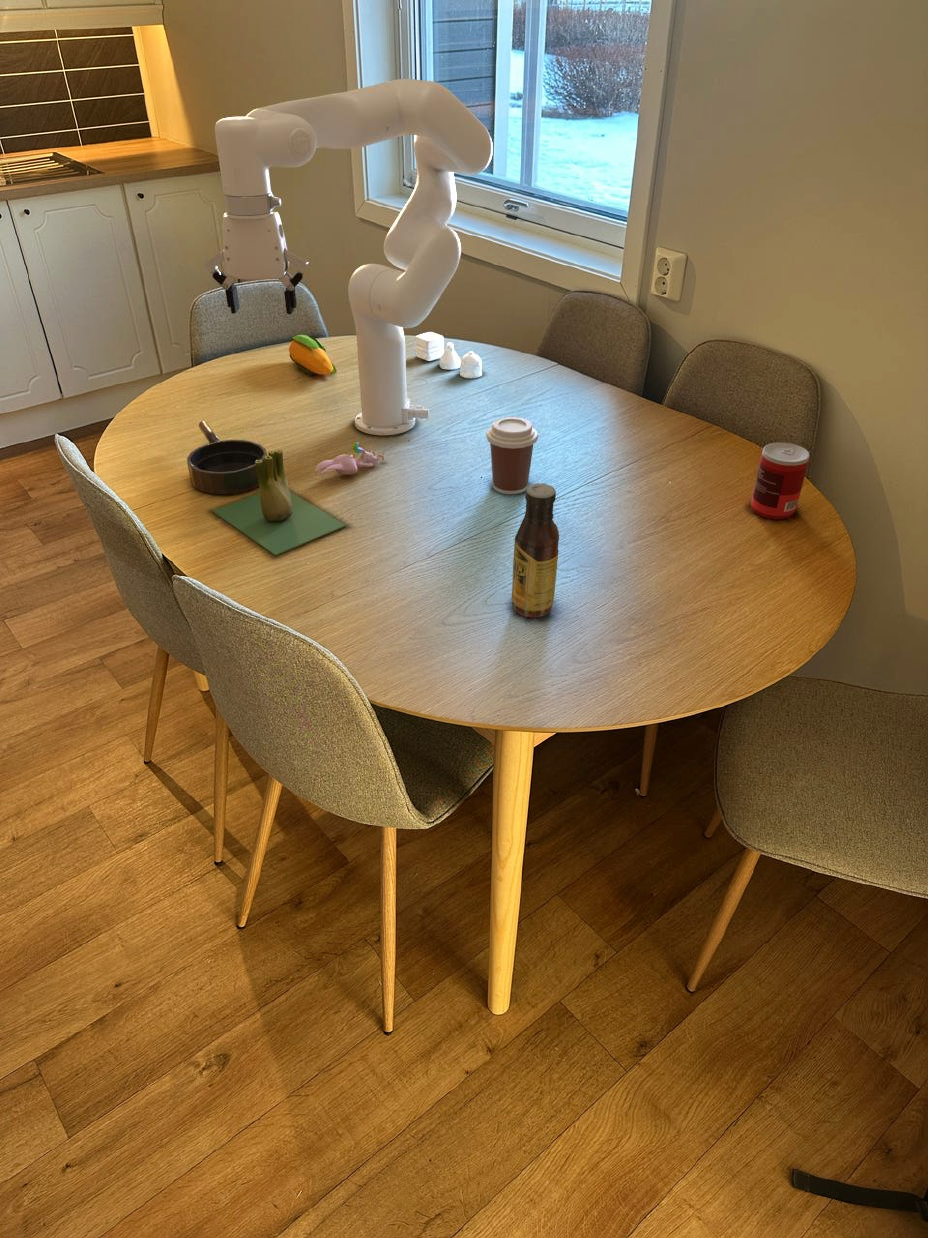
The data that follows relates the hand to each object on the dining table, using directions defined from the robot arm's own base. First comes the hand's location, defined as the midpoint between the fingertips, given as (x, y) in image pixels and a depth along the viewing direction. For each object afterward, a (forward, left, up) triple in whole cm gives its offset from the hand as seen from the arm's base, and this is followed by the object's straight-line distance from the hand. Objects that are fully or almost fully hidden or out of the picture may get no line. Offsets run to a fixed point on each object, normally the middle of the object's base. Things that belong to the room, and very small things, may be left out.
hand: (263, 311), depth 152 cm
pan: (+8, +8, -28) cm, 30 cm away
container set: (-30, -53, -28) cm, 67 cm away
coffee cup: (-44, +9, -28) cm, 53 cm away
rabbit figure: (-14, +5, -28) cm, 32 cm away
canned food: (-90, +16, -28) cm, 96 cm away
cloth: (-4, +23, -28) cm, 37 cm away
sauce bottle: (-47, +48, -28) cm, 73 cm away
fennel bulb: (-4, +23, -28) cm, 37 cm away
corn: (+2, -48, -28) cm, 56 cm away
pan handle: (+14, -3, -26) cm, 29 cm away
